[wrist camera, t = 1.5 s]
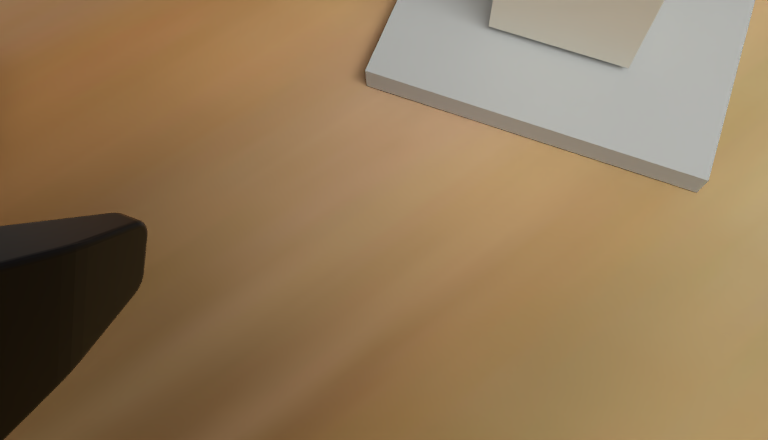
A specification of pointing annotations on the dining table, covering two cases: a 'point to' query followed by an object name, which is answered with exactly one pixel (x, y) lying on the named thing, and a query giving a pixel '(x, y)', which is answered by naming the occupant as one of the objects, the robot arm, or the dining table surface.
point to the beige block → (580, 24)
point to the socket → (576, 82)
